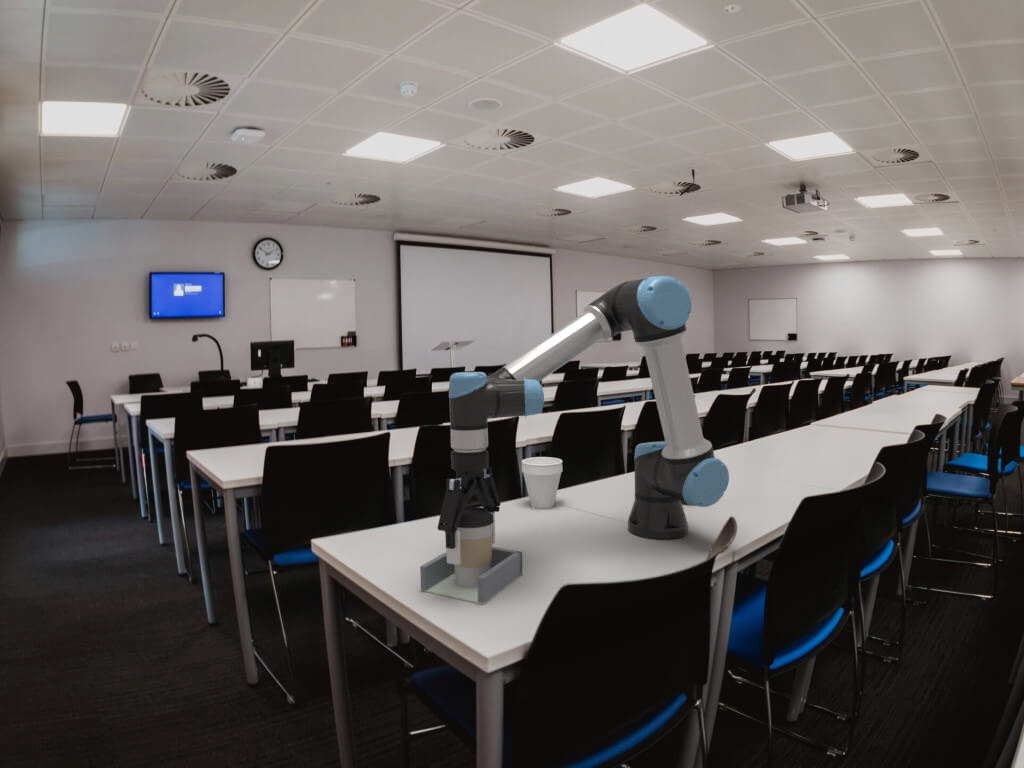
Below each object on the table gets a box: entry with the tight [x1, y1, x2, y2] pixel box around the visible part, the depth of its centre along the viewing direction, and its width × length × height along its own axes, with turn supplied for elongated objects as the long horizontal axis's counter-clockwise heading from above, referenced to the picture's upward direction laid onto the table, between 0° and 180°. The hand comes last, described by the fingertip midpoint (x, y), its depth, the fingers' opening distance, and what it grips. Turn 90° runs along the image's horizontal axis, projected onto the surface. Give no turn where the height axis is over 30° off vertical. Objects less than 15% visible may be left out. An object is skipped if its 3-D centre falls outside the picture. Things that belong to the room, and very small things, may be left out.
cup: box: [521, 456, 563, 510], centre depth 182 cm, size 12×12×14 cm
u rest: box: [419, 546, 523, 605], centre depth 124 cm, size 14×16×5 cm
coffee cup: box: [452, 506, 494, 588], centre depth 124 cm, size 9×9×15 cm
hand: (472, 552), depth 124 cm, fingers open, 13 cm apart
